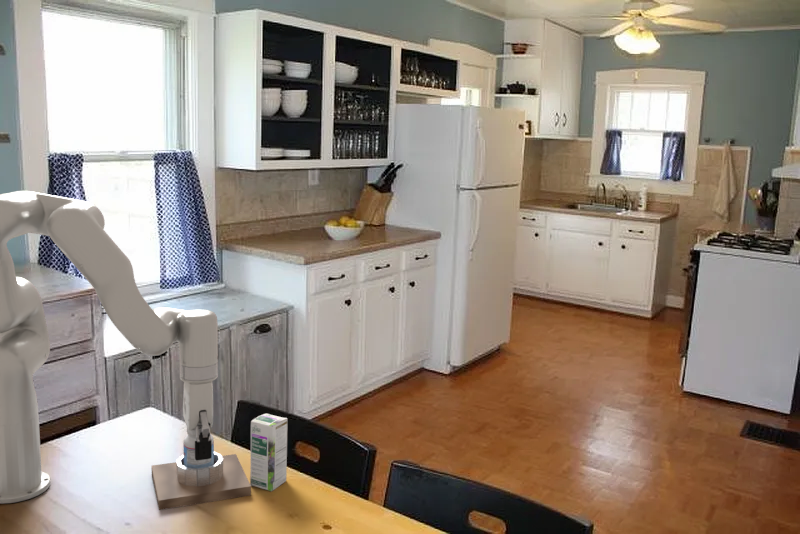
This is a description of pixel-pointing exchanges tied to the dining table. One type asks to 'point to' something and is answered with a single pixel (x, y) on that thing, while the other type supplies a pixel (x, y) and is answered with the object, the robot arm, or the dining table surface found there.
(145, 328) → the robot arm
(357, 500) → the dining table surface
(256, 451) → the syrup box
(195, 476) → the bottle ring
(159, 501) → the holder board
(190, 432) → the pill bottle
